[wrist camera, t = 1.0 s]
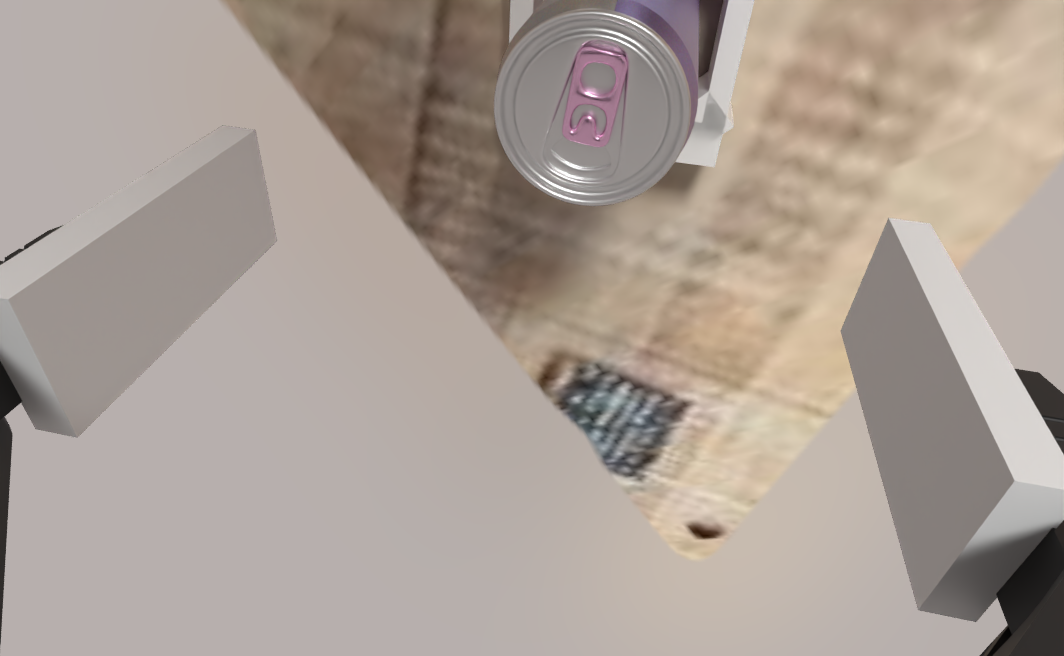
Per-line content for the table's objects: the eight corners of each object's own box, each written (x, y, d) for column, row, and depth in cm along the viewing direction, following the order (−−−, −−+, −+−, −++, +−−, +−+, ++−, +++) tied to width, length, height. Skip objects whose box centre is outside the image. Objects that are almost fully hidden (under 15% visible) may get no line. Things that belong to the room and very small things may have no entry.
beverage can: (718, -57, 29) (729, 31, 17) (676, 82, 32) (662, 233, 21) (582, -87, 29) (501, -21, 17) (556, 53, 33) (475, 186, 21)
